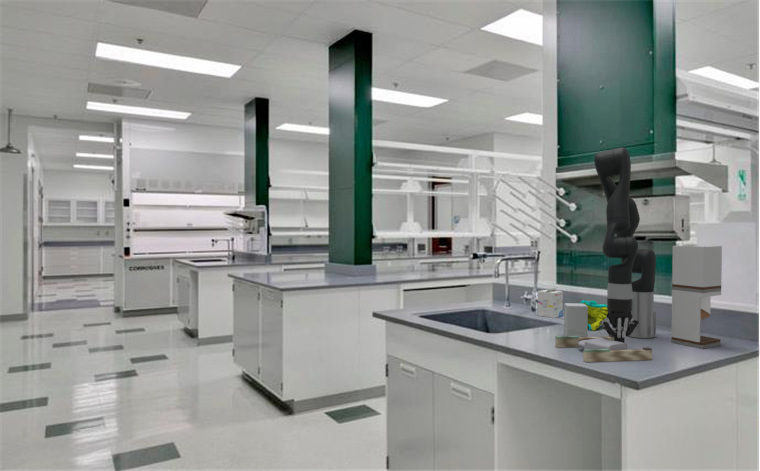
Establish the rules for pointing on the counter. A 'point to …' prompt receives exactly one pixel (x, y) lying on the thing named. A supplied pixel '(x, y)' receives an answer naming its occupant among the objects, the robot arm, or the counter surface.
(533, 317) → the counter surface
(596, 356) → the railed run
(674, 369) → the counter surface
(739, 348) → the counter surface
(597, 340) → the charger
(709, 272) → the coffee maker
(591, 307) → the organ model
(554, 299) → the ink box
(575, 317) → the supplement box
